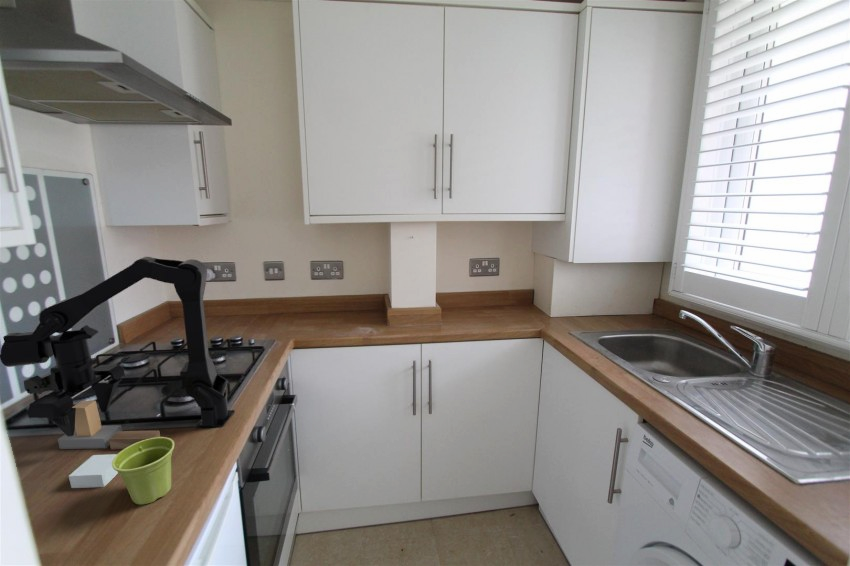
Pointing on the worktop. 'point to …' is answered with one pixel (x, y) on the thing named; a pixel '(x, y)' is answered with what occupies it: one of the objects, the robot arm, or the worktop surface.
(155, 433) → the stop bar
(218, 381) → the robot arm
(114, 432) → the tan block grey base
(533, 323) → the worktop surface
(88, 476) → the tile
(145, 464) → the plant pot
